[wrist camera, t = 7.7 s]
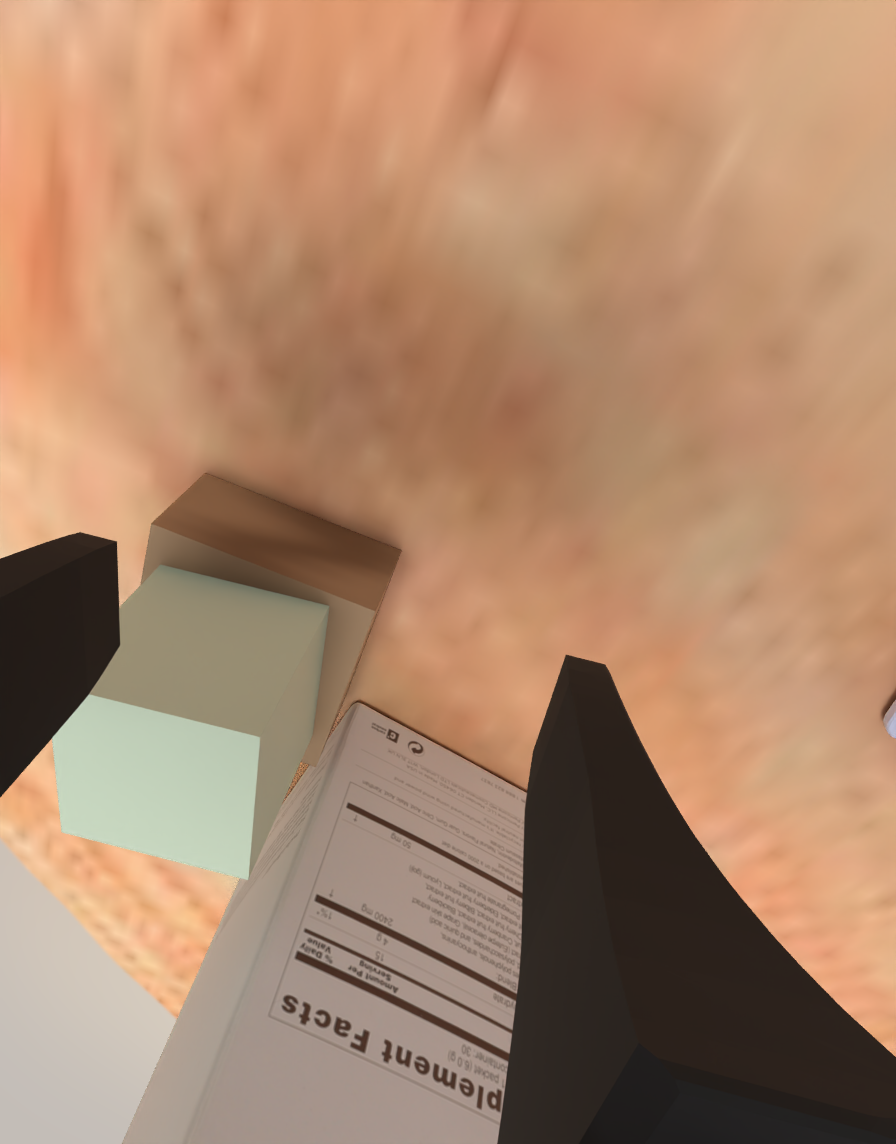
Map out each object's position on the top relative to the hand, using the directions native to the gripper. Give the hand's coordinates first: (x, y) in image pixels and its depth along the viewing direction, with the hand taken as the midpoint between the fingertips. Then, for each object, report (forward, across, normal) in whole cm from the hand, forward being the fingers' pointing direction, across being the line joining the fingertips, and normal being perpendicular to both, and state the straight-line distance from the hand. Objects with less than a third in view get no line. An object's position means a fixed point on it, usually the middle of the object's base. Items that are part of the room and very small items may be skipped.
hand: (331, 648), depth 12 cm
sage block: (+7, +4, +6) cm, 10 cm away
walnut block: (+10, +4, +6) cm, 12 cm away
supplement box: (+10, -2, +15) cm, 18 cm away
